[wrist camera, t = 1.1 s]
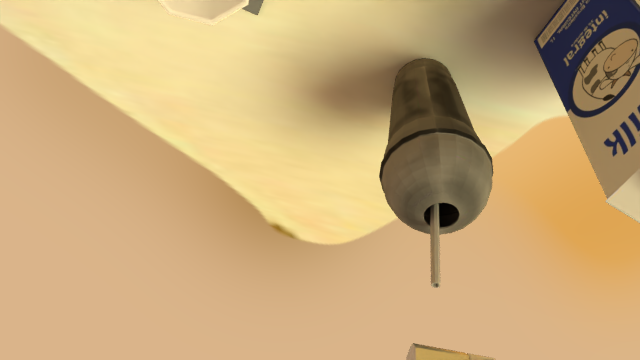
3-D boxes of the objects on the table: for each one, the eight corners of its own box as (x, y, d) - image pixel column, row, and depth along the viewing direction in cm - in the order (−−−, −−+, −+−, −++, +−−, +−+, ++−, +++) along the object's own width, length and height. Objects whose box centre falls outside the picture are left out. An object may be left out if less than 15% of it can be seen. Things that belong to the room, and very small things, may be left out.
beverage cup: (489, 71, 47) (549, 261, 31) (432, 136, 51) (460, 331, 35) (412, 25, 45) (436, 203, 29) (359, 96, 49) (355, 285, 33)
